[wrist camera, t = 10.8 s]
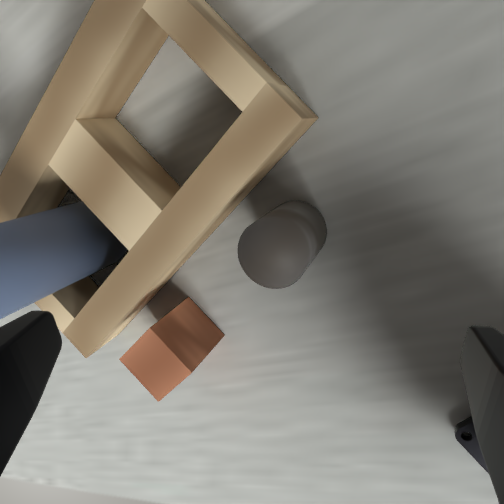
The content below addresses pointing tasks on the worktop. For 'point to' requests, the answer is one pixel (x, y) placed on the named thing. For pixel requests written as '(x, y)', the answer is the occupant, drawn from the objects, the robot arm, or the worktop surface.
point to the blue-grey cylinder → (51, 253)
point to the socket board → (158, 179)
